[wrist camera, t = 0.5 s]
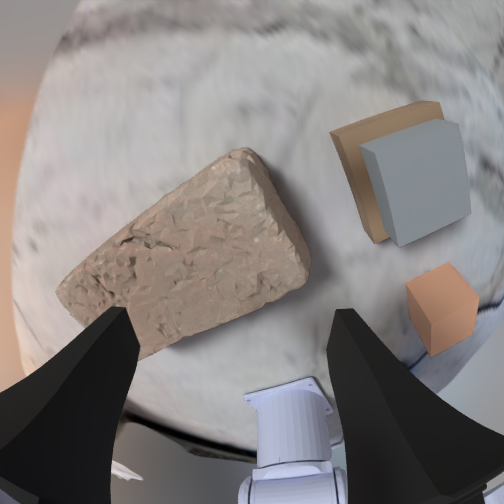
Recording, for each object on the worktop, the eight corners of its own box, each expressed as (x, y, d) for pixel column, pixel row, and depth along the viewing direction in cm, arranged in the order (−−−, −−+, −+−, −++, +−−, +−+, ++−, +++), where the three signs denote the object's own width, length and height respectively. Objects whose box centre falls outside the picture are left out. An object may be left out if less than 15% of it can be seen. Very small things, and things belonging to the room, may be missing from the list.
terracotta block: (448, 297, 21) (473, 333, 17) (409, 317, 22) (430, 357, 18) (448, 261, 19) (479, 297, 15) (405, 282, 20) (431, 324, 16)
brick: (244, 137, 15) (240, 149, 11) (310, 245, 19) (324, 286, 15) (77, 261, 20) (49, 295, 16) (141, 328, 24) (125, 368, 19)
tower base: (440, 192, 17) (459, 205, 15) (361, 226, 18) (374, 243, 16) (418, 100, 14) (439, 102, 12) (327, 131, 15) (338, 136, 13)
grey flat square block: (451, 199, 14) (471, 213, 13) (383, 230, 16) (398, 247, 14) (436, 118, 12) (458, 123, 10) (358, 145, 13) (374, 153, 11)
